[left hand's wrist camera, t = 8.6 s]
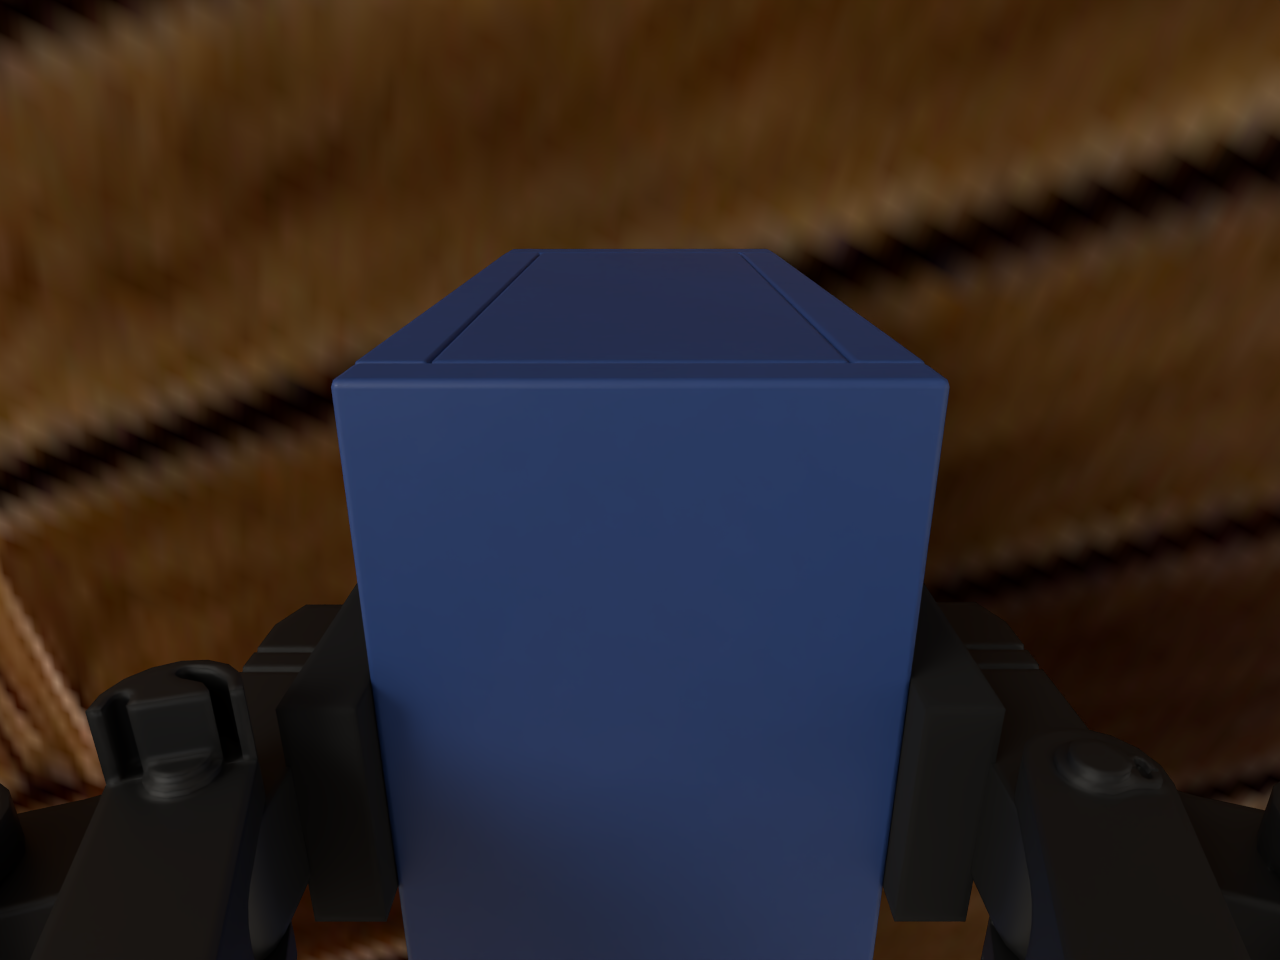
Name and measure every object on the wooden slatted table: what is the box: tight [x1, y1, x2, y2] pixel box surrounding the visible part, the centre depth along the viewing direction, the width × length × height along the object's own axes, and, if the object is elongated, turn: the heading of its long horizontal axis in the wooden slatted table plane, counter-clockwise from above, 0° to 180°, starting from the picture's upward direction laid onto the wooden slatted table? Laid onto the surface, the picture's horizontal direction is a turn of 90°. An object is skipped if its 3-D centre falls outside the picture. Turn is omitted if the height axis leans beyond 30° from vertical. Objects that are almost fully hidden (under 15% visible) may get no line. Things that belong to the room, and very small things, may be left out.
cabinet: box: [331, 249, 949, 960], centre depth 16 cm, size 19×5×11 cm, turn 0°
